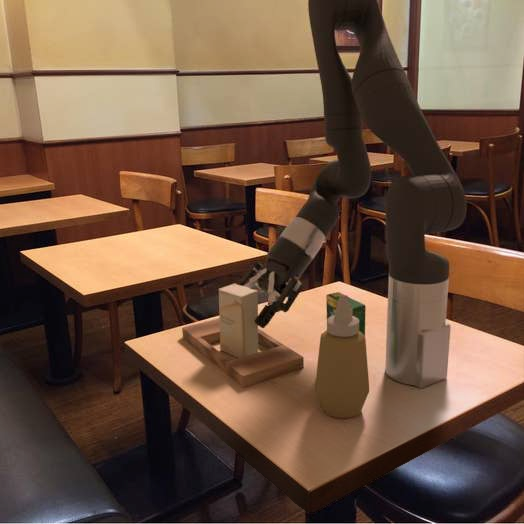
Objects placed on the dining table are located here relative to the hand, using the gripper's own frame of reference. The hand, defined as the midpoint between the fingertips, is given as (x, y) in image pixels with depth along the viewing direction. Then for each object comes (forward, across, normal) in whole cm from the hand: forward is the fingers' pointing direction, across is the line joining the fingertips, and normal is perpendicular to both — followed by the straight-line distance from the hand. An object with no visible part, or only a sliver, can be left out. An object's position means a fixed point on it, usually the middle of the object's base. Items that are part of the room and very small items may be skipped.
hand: (246, 318), depth 105 cm
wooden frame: (+6, 0, +3) cm, 7 cm away
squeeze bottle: (+4, +26, +5) cm, 27 cm away
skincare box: (+6, 0, +4) cm, 7 cm away
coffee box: (-2, +17, +11) cm, 20 cm away
